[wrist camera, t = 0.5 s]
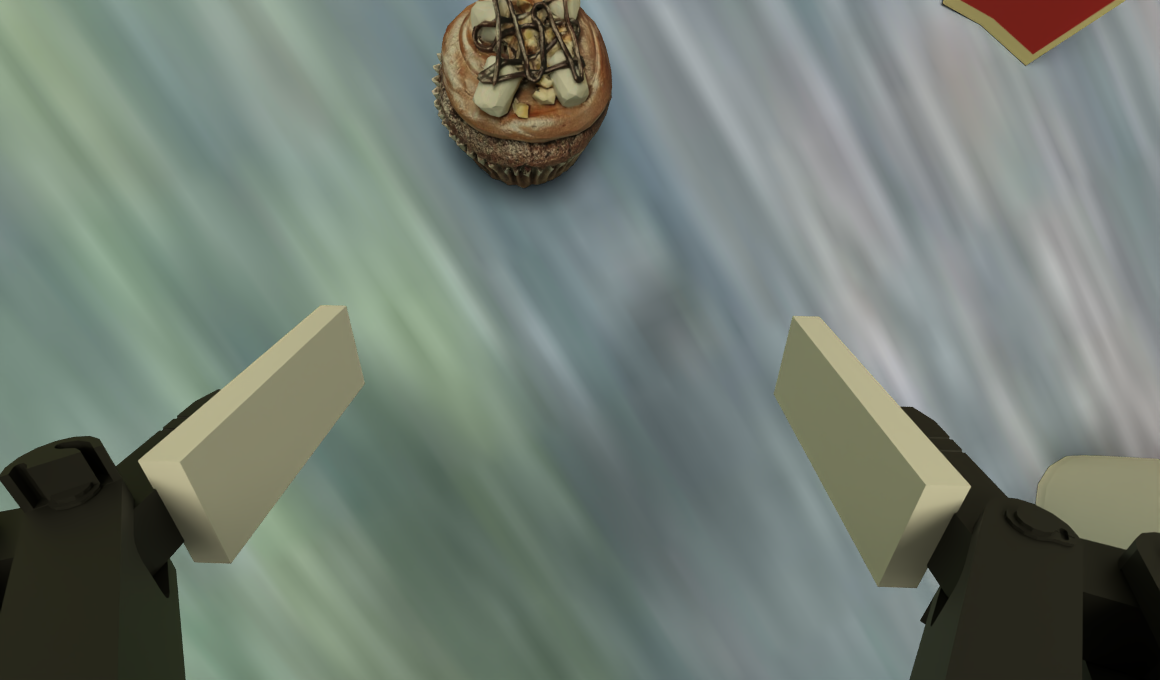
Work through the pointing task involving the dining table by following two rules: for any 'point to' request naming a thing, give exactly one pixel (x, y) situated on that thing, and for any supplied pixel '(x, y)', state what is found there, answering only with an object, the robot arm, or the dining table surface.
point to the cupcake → (523, 86)
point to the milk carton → (1032, 21)
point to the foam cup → (1104, 497)
